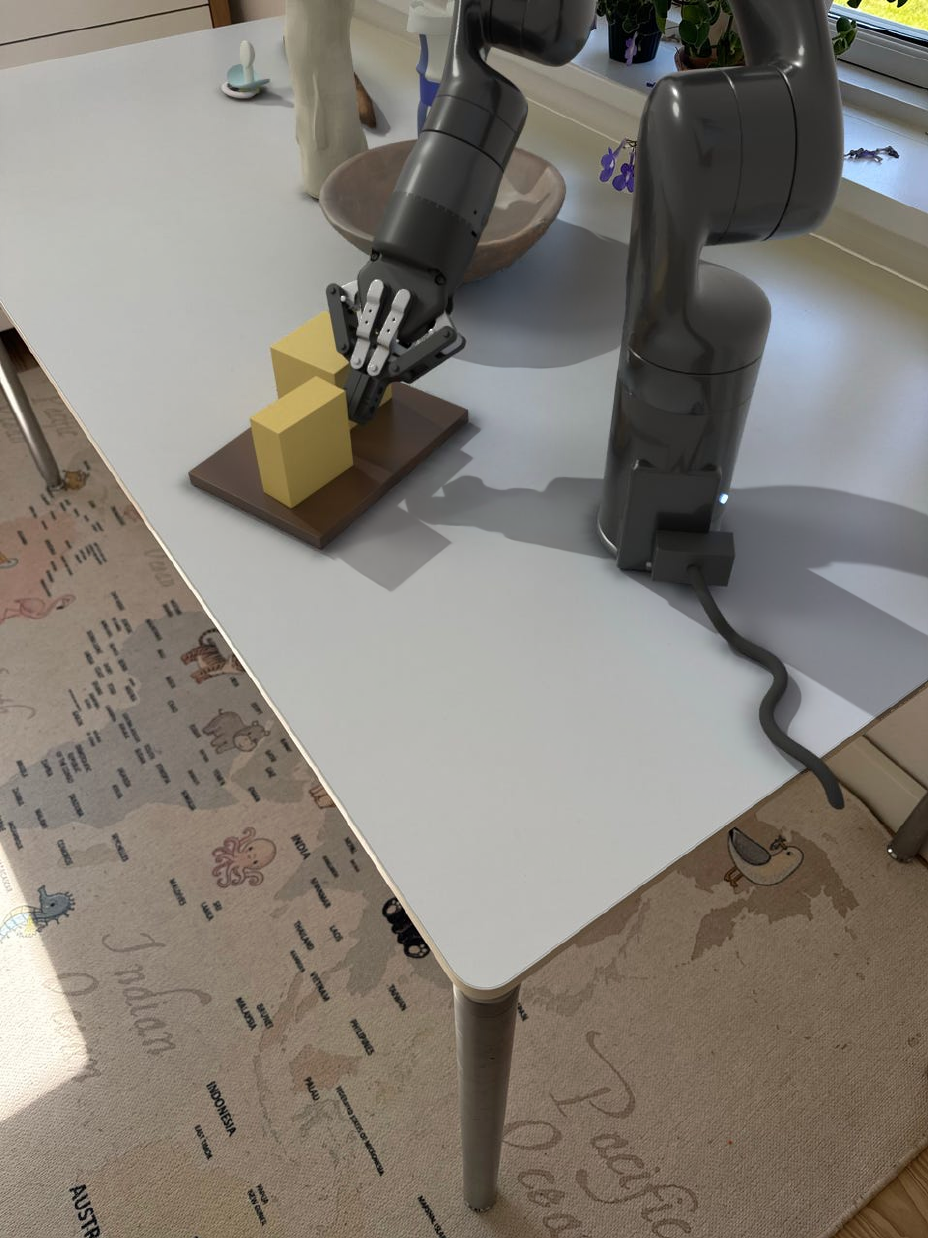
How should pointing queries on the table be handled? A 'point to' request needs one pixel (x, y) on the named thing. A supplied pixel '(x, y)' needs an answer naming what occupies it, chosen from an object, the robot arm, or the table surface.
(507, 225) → the bowl
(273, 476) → the butter slice
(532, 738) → the table surface
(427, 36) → the water bottle
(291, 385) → the butter block
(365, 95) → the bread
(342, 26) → the vase
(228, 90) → the pacifier
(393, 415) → the butter board
